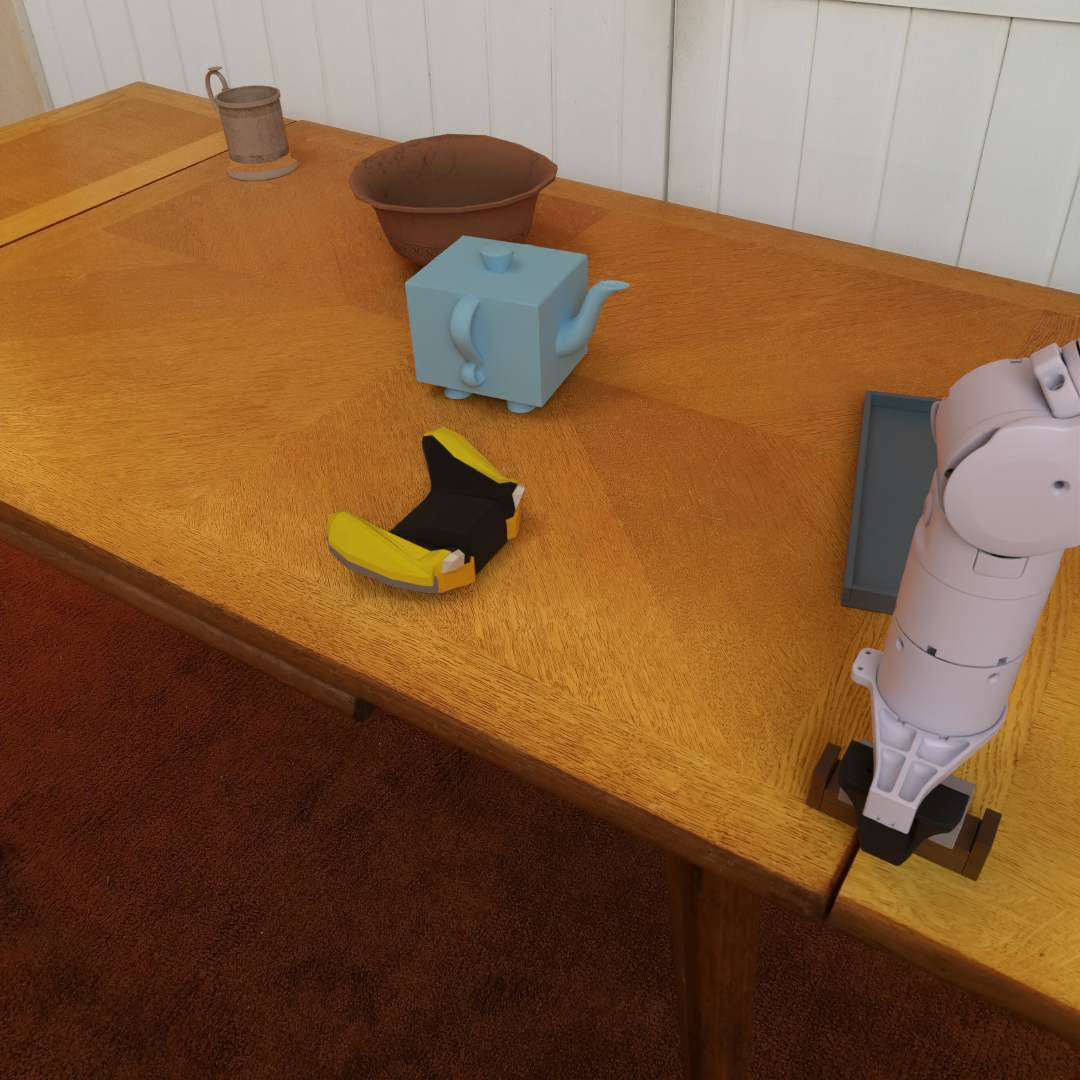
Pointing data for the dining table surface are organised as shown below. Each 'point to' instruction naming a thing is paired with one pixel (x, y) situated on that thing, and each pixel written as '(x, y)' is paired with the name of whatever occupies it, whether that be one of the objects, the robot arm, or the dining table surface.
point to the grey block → (950, 781)
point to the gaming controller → (436, 523)
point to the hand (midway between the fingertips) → (901, 805)
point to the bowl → (452, 191)
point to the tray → (887, 496)
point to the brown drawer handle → (960, 859)
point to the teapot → (503, 319)
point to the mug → (251, 126)
